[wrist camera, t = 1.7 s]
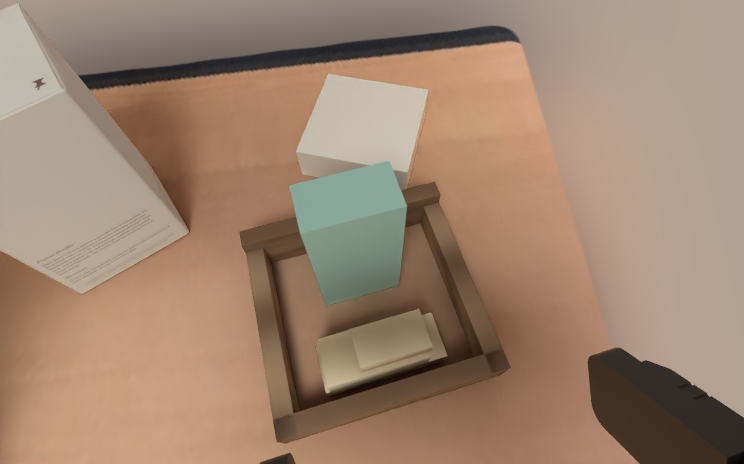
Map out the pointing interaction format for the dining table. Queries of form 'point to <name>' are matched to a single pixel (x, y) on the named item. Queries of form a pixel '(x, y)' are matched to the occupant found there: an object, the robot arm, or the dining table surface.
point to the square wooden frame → (295, 424)
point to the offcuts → (379, 351)
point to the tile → (362, 127)
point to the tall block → (352, 230)
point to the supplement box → (70, 170)
